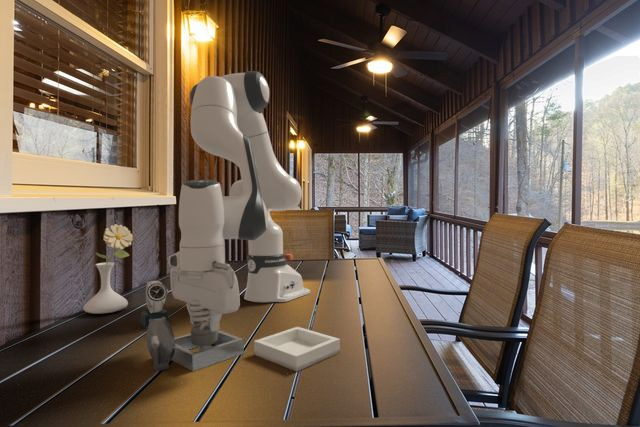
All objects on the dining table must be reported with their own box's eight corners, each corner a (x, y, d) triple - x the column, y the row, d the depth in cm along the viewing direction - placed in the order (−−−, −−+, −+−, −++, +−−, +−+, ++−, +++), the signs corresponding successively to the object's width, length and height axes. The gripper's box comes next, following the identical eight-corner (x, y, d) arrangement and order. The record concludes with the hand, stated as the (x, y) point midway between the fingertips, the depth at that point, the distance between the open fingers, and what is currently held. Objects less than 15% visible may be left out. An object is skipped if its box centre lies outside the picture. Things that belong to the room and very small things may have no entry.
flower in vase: (82, 319, 108) (79, 226, 107) (84, 309, 118) (82, 224, 117) (135, 312, 114) (133, 224, 113) (133, 303, 124) (131, 222, 123)
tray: (297, 338, 91) (297, 326, 91) (340, 352, 83) (339, 338, 83) (254, 354, 82) (253, 340, 82) (296, 371, 74) (296, 356, 73)
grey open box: (212, 340, 90) (211, 300, 90) (243, 353, 83) (243, 309, 82) (141, 362, 79) (140, 315, 78) (169, 379, 71) (168, 327, 71)
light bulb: (193, 348, 85) (192, 292, 85) (221, 347, 86) (220, 291, 85) (187, 359, 79) (186, 298, 79) (216, 357, 80) (215, 297, 80)
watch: (147, 330, 98) (146, 285, 98) (139, 322, 105) (138, 280, 105) (170, 325, 102) (169, 282, 101) (161, 318, 108) (160, 277, 108)
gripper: (247, 262, 77) (248, 334, 78) (191, 253, 91) (192, 314, 91) (218, 267, 72) (220, 343, 73) (164, 256, 86) (166, 320, 87)
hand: (204, 326), depth 82 cm, fingers closed on light bulb, 5 cm apart
